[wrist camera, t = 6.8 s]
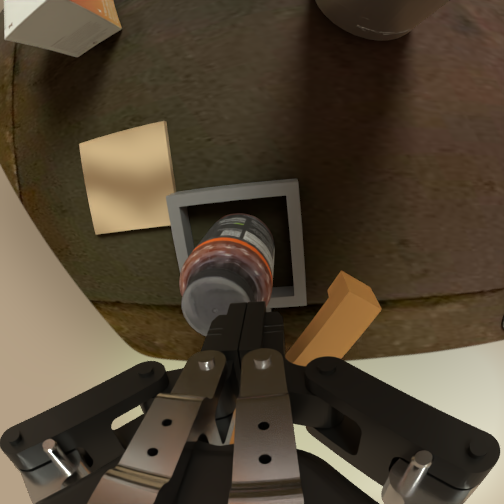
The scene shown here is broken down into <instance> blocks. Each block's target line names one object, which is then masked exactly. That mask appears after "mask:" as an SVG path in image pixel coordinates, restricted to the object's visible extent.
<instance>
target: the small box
mask: <svg viewBox="0 0 504 504" xmlns="http://www.w3.org/2000/svg"><path fill="white" fill-rule="evenodd" d="M4 27H5V31H4V36H5V38H4V39H5V40H9V41H13V42H18V43H23V44H27V45H32V46H36V47H40V48H44V49H48V50H52V51H55V52H59V53H63V54H66V55H70V56H73V57H79V56H81V55H82V54H83V53H85V52H86V51H88V50H89V49H91V48H92V47H94V46H95V45H97V44H98V43H100V42H102V41H103V40H105V39H106V38H108V37H110V36H111V35H113V34H115V33H116V32H118V31H120V30H121V29H122V27H121V25H120V22H119V19H118V16H117V12H116V9H115V5H114V1H113V0H4Z"/></svg>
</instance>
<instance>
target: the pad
mask: <svg viewBox="0 0 504 504" xmlns="http://www.w3.org/2000/svg"><path fill="white" fill-rule="evenodd" d="M79 146H80V154H81V161H82V167H83V173H84V179H85V185H86V190H87V196H88V201H89V206H90V211H91V215H92V220H93V225H94V229H95V233H96V235H97V234H104V233H112V232H120V231H128V230H136V229H144V228H152V227H161V226H169V225H171V224H170V219H169V213H168V207H167V202H166V196H167V195H169V194H171V193H175V192H176V186H175V180H174V173H173V166H172V160H171V153H170V145H169V138H168V130H167V122H166V121H161V122H157V123H152V124H148V125H144V126H140V127H136V128H132V129H128V130H124V131H121V132H117V133H113V134H110V135H106V136H103V137H100V138H96V139H93V140H90V141H86V142H83V143H80V144H79Z"/></svg>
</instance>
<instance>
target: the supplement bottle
mask: <svg viewBox="0 0 504 504" xmlns="http://www.w3.org/2000/svg"><path fill="white" fill-rule="evenodd" d="M274 254H275V246H274V239H273V236H272V233H271V232H270V230H269V228H268V227H267V226H266V225H265V224H264V223H263V222H262V221H261V220H260V219H258V218H256V217H255V216H252V215H249V214H245V213H235V214H229V215H226V216H224V217H222V218H221V219H219V220H218V221H217V222H216V223H215V224H214V225H213V226H212V227H211V228H210V230H209V231H208V232H207V233H206V235H205V236H204V237H203V238H202V240H201V241H200V242H199V244H198V245H197V246H196V247H195V249H194V250H193V251H192V253H191V254H190V255H189V257H188V258H187V260H186V261H185V263H184V265H183V267H182V270H181V273H180V292H181V295H182V304H181V305H182V311H183V315H184V317H185V319H186V320H187V322H188V323H189V325H190V326H191V327H192V328H193V329H194V330H196V331H197V332H198V333H200V334H202V335H204V336H207V333H208V330H209V328H210V325H211V322H212V321H213V320H214V319H215V318H216V317H217V316H218V315H227V312H228V309H229V305H230V303H243V302H247V303H248V302H257V301H265V303H266V307H267V305H268V303H269V301H270V298H271V293H272V284H273V269H274Z"/></svg>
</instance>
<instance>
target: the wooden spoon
mask: <svg viewBox="0 0 504 504" xmlns="http://www.w3.org/2000/svg"><path fill="white" fill-rule="evenodd" d="M327 291H328V295H329V298H328V299H327V301H326V302H325V303H324V305H323V306H322V308H321V309H320V310H319V312H318V313H317V314H316V316H315V317H314V318H313V320H312V321H311V322H310V324H309V325H308V326H307V328H306V329H305V330H304V332H303V333H302V334H301V335H300V337H299V338H298V339H297V341H296V342H295V343H294V344H293V346H292V347H291V348H290V349H289V351H288V352H287V353H286V355H285V358H286V359H287V360H288V361H289V362H291V363H293V364H296V365H300V366H307V364H308V363H309V362H310V361H312V360H314V359H316V358H319V357H324V356H332V357H337V358H340V359H341V358H342V357H343V356H344V355H345V354H346V352H347V351H348V350H349V349H350V348H351V347H352V345H353V344H354V343H355V342H356V341H357V339H358V338H359V337H360V336H361V335H362V333H363V332H364V331H365V330H366V329H367V327H368V326H369V325H370V324H371V322H372V321H373V320H374V319H375V317H376V316H377V315H378V314H379V312H380V311H381V310H382V309H381V307H380V305H379V303H378V301H377V299H376V297H375V295H374V293H373V291H372V290H371V288H370V287H369V286H367V285H366V284H364V283H362V282H360V281H359V280H357V279H355V278H353V277H352V276H350V275H348V274H347V273H345V272H343V271H340V273H339V274H338V276H337V277H336V279H335V280H334V281H333V283H332V284H331V286H330V287H329V288H328V290H327ZM234 434H235V425H234V429H233V432H232V436H231V440H230V443H229V444H234Z"/></svg>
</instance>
